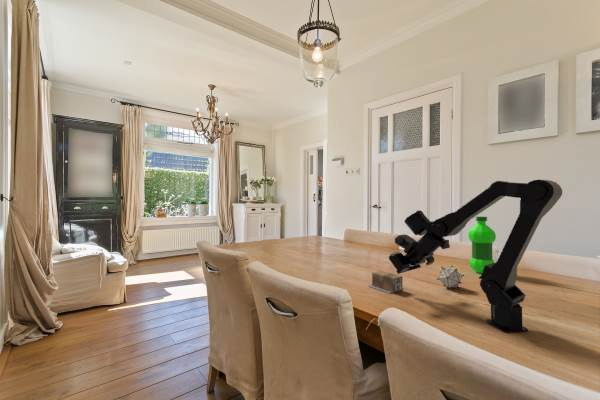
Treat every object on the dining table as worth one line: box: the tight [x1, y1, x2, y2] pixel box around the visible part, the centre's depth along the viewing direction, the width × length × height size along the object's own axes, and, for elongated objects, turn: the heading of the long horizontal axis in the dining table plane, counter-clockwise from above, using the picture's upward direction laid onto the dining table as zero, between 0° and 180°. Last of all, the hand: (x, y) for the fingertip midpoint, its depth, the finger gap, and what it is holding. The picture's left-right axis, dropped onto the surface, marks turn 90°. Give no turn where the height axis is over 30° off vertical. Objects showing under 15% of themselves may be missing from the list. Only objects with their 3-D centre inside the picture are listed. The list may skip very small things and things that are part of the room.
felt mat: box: [368, 284, 395, 295], centre depth 105 cm, size 10×8×1 cm
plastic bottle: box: [468, 216, 496, 275], centre depth 124 cm, size 10×10×25 cm
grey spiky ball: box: [436, 265, 465, 290], centre depth 103 cm, size 9×8×10 cm
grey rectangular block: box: [371, 270, 404, 293], centre depth 104 cm, size 5×5×10 cm
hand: (397, 272), depth 100 cm, fingers closed
